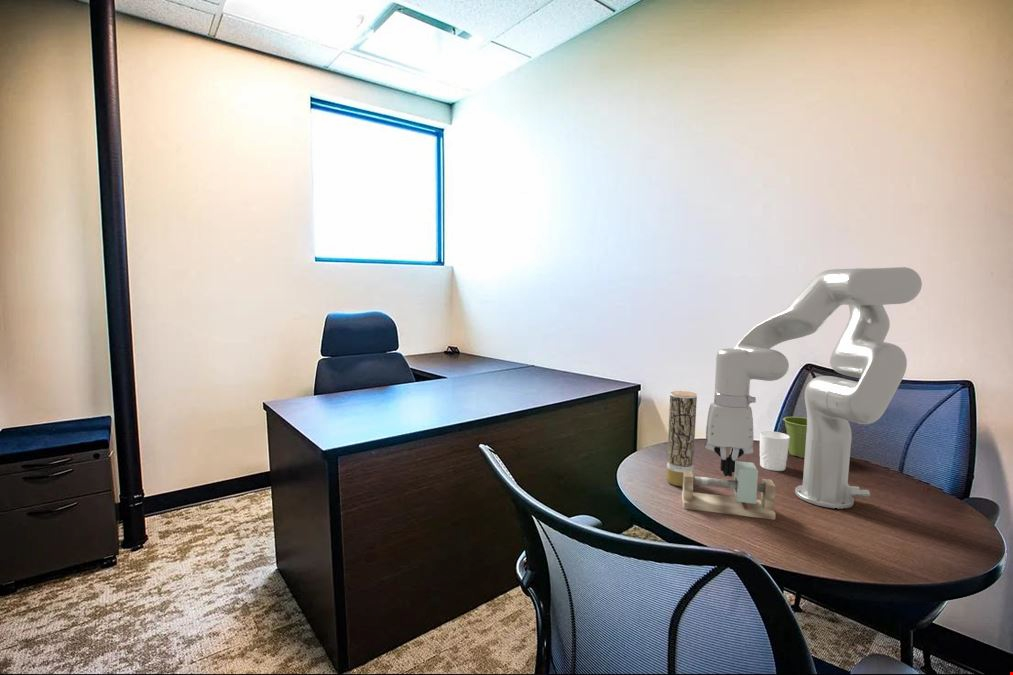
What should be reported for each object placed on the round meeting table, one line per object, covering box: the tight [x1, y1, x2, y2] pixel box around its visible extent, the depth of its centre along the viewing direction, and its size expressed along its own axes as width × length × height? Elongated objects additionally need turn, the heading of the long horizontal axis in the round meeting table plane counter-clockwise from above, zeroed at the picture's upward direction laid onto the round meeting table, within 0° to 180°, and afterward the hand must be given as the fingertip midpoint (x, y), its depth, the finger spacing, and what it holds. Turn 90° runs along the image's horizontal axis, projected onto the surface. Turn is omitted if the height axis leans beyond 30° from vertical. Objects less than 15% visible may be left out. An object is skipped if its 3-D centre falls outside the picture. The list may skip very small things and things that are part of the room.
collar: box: [732, 460, 759, 504], centre depth 117 cm, size 4×6×8 cm
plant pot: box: [782, 416, 807, 459], centre depth 157 cm, size 12×12×11 cm
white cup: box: [759, 430, 790, 472], centre depth 146 cm, size 8×8×10 cm
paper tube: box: [666, 390, 698, 488], centre depth 133 cm, size 7×7×25 cm
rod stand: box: [681, 471, 776, 520], centre depth 119 cm, size 20×7×8 cm, turn 74°
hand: (727, 474), depth 118 cm, fingers closed
